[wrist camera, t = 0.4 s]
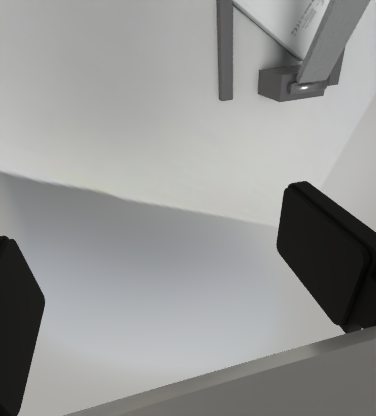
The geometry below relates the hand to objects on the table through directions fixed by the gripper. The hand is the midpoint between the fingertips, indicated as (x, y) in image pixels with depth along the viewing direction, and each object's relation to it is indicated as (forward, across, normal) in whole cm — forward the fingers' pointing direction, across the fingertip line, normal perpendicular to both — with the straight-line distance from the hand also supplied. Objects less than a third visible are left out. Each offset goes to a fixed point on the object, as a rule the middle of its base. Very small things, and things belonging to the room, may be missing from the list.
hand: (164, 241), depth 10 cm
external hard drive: (+31, -21, -8) cm, 38 cm away
